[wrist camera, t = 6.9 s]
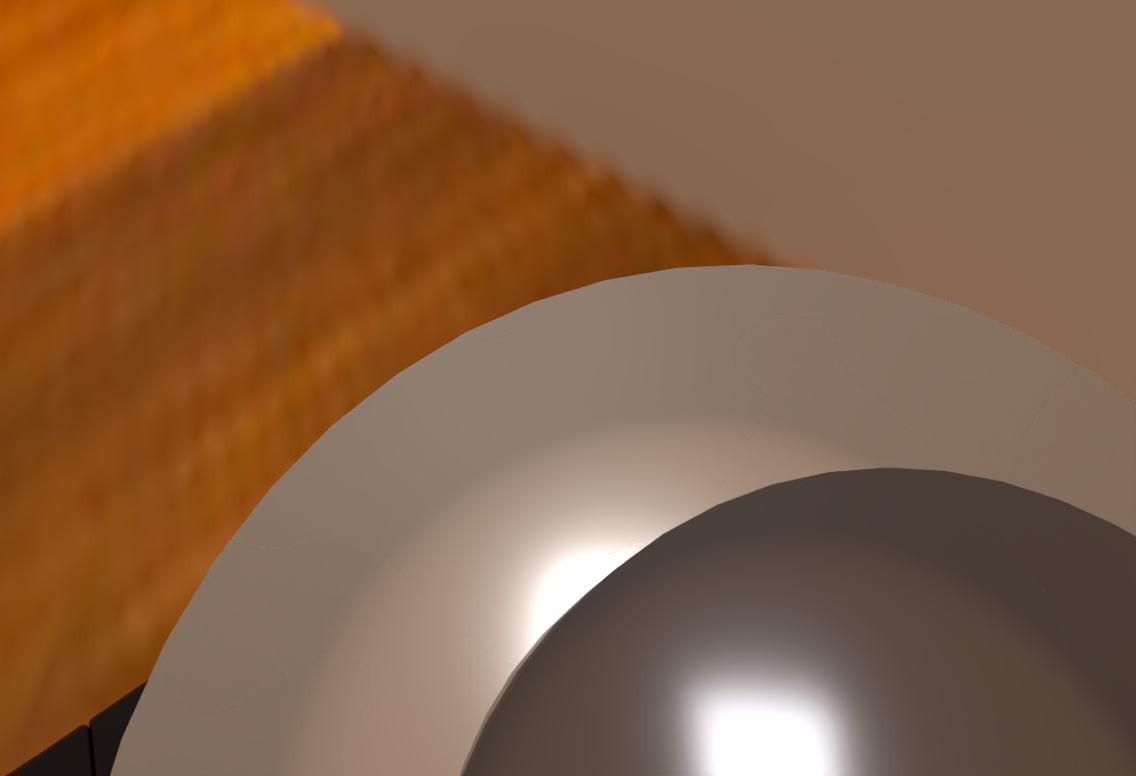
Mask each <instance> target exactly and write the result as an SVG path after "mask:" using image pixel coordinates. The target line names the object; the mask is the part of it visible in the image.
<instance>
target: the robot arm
mask: <svg viewBox="0 0 1136 776" xmlns="http://www.w3.org/2000/svg"><path fill="white" fill-rule="evenodd" d="M147 682H148V680H147V681H146V682H144V683H143V684H141V685H140V686H138V687H137V688H136V689H134V690H133V691H131V692H130V693H128V694H127V695H125V696H124V697H122V698H121V699H119V700H118V701H117V702H115V703H114V704H112V705H111V706H109V707H108V708H106V709H105V710H103V711H102V712H100V713H99V714H98V715H96V716H95V717H93V718H92V719H91V720H90V722H89V727H88V726H87V725H81V726H79V727H78V728H77V729H75V730H74V731H72V732H71V733H69V734H68V735H66V736H65V737H63V738H62V739H60V740H59V741H57V742H56V743H55V744H53V745H52V746H50V747H49V748H47V749H46V750H44V751H43V752H41V753H40V754H38V755H37V756H35V757H34V758H32V759H30V760H29V761H27V762H26V763H24V764H23V765H21V766H20V767H18V768H17V769H15V770H14V771H12V772H11V773H9V774H7V775H6V776H110V774H111V771H112V768H113V765H114V762H115V759H116V756H117V752H118V749H119V746H120V743H121V740H122V737H123V735H124V733H125V731H126V728H127V726H128V724H129V722H130V719H131V717H132V715H133V713H134V711H135V708H136V706H137V704H138V702H139V700H140V697H141V695H142V693H143V691H144V688H145V686H146V684H147Z"/></svg>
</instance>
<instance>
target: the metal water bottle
mask: <svg viewBox="0 0 1136 776" xmlns="http://www.w3.org/2000/svg"><path fill="white" fill-rule="evenodd" d="M110 776H1136V402H1134V401H1133V400H1131V399H1130V398H1129V397H1127V396H1126V395H1125V394H1123V393H1122V392H1120V391H1119V390H1118V389H1116V388H1115V387H1113V386H1112V385H1111V384H1109V383H1108V382H1107V381H1105V380H1103V379H1102V378H1101V377H1099V376H1098V375H1097V374H1095V373H1094V372H1092V371H1090V370H1088V369H1087V368H1085V367H1083V366H1081V365H1080V364H1078V363H1076V362H1074V361H1073V360H1071V359H1069V358H1067V357H1066V356H1064V355H1062V354H1061V353H1059V352H1057V351H1055V350H1054V349H1052V348H1050V347H1048V346H1047V345H1045V344H1043V343H1041V342H1040V341H1038V340H1036V339H1034V338H1033V337H1031V336H1029V335H1027V334H1025V333H1022V332H1020V331H1018V330H1015V329H1013V328H1011V327H1009V326H1007V325H1004V324H1002V323H1000V322H997V321H995V320H993V319H991V318H988V317H986V316H984V315H982V314H979V313H977V312H975V311H972V310H970V309H968V308H966V307H963V306H961V305H958V304H955V303H952V302H948V301H945V300H942V299H938V298H936V297H933V296H929V295H926V294H923V293H920V292H917V291H913V290H910V289H907V288H904V287H901V286H897V285H894V284H891V283H886V282H881V281H876V280H870V279H865V278H860V277H855V276H850V275H844V274H839V273H834V272H829V271H824V270H816V269H802V268H788V267H774V266H760V265H731V266H710V267H689V268H674V269H669V270H663V271H657V272H651V273H645V274H640V275H634V276H628V277H622V278H616V279H611V280H605V281H602V282H598V283H595V284H592V285H589V286H585V287H582V288H579V289H575V290H572V291H569V292H566V293H562V294H559V295H556V296H552V297H549V298H546V299H543V300H539V301H536V302H533V303H531V304H529V305H527V306H524V307H522V308H520V309H518V310H515V311H513V312H511V313H509V314H506V315H504V316H502V317H500V318H497V319H495V320H493V321H491V322H488V323H486V324H484V325H482V326H480V327H477V328H475V329H473V330H471V331H468V332H466V333H464V334H463V335H461V336H459V337H458V338H456V339H454V340H453V341H451V342H449V343H448V344H446V345H444V346H443V347H441V348H439V349H438V350H436V351H434V352H433V353H431V354H430V355H428V356H426V357H425V358H423V359H421V360H420V361H418V362H416V363H415V364H413V365H411V366H410V367H408V368H406V369H405V370H403V371H401V372H400V373H398V374H397V375H395V376H394V377H393V378H392V379H390V380H389V381H388V382H387V383H385V384H384V385H383V386H382V387H380V388H379V389H378V390H376V391H375V392H374V393H373V394H371V395H370V396H369V397H368V398H366V399H365V400H364V401H363V402H361V403H360V404H359V405H357V406H356V407H355V408H354V409H352V410H351V411H350V412H349V413H347V414H346V415H345V416H344V417H342V418H341V419H340V420H339V421H337V422H336V423H335V424H333V425H332V426H331V427H330V428H329V429H328V430H327V431H326V432H325V433H324V434H323V435H322V436H321V437H320V438H319V439H318V440H317V441H316V442H315V443H314V444H313V446H312V447H311V448H310V449H309V450H308V451H307V452H306V453H305V454H304V455H303V456H302V457H301V458H300V459H299V460H298V461H297V462H296V463H295V464H294V465H293V466H292V467H291V468H290V469H289V470H288V471H287V472H286V473H285V474H284V475H283V476H282V477H281V478H280V479H279V480H278V481H277V482H276V483H275V484H274V485H273V486H272V487H271V488H270V490H269V491H268V492H267V493H266V495H265V496H264V497H263V499H262V500H261V501H260V502H259V504H258V505H257V506H256V508H255V509H254V510H253V511H252V513H251V514H250V515H249V517H248V518H247V519H246V521H245V522H244V523H243V524H242V526H241V527H240V528H239V530H238V531H237V532H236V533H235V535H234V536H233V537H232V539H231V540H230V541H229V542H228V544H227V545H226V546H225V548H224V549H223V550H222V551H221V553H220V554H219V555H218V557H217V558H216V559H215V561H214V562H213V564H212V566H211V567H210V569H209V571H208V572H207V574H206V576H205V577H204V579H203V581H202V582H201V584H200V586H199V587H198V589H197V591H196V592H195V594H194V596H193V597H192V599H191V601H190V602H189V604H188V606H187V607H186V609H185V611H184V612H183V614H182V616H181V617H180V619H179V621H178V622H177V624H176V626H175V627H174V629H173V631H172V632H171V634H170V636H169V637H168V639H167V641H166V642H165V644H164V646H163V649H162V651H161V653H160V655H159V657H158V660H157V662H156V664H155V666H154V669H153V671H152V673H151V675H150V677H149V680H148V682H147V684H146V686H145V688H144V691H143V693H142V695H141V697H140V700H139V702H138V704H137V706H136V708H135V711H134V713H133V715H132V717H131V719H130V722H129V724H128V726H127V728H126V731H125V733H124V735H123V737H122V740H121V743H120V746H119V749H118V752H117V756H116V759H115V762H114V765H113V768H112V771H111V774H110Z"/></svg>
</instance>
